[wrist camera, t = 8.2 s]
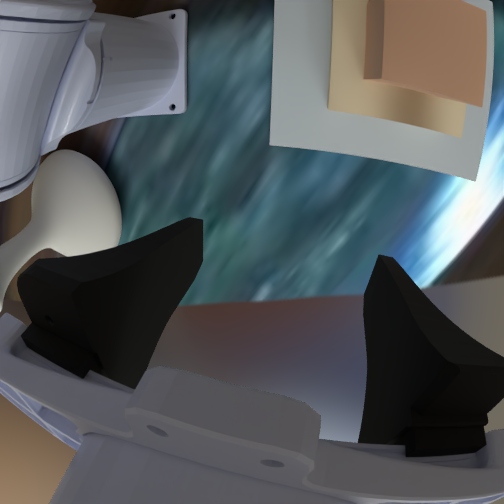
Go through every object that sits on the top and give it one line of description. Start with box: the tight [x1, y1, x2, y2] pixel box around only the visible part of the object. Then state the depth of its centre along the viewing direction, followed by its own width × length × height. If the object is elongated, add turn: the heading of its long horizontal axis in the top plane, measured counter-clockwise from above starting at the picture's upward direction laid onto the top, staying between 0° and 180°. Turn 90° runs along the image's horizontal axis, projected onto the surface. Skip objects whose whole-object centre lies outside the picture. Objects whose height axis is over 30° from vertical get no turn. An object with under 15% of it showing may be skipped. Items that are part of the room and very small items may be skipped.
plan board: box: [270, 0, 494, 181], centre depth 14 cm, size 15×14×1 cm
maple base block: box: [327, 0, 467, 138], centre depth 13 cm, size 8×8×3 cm
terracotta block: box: [363, 0, 487, 108], centre depth 9 cm, size 4×4×5 cm
